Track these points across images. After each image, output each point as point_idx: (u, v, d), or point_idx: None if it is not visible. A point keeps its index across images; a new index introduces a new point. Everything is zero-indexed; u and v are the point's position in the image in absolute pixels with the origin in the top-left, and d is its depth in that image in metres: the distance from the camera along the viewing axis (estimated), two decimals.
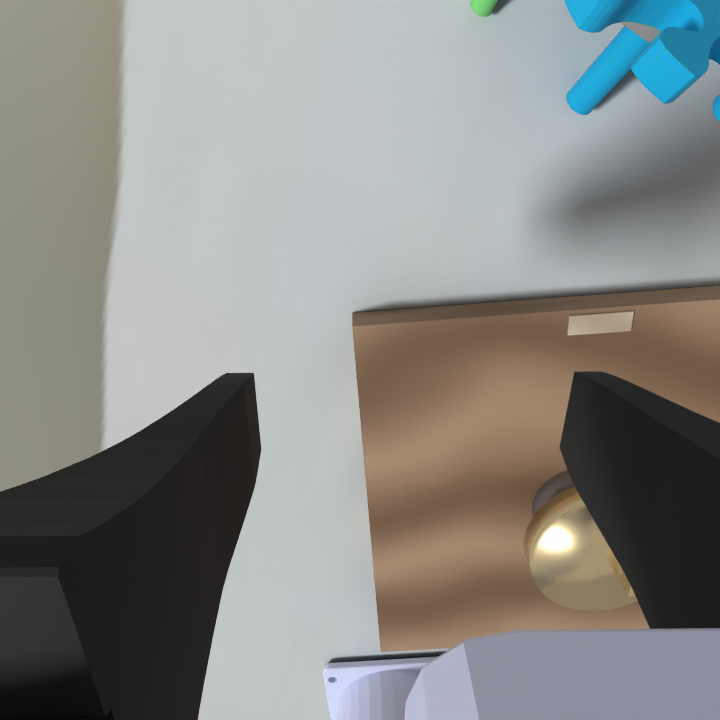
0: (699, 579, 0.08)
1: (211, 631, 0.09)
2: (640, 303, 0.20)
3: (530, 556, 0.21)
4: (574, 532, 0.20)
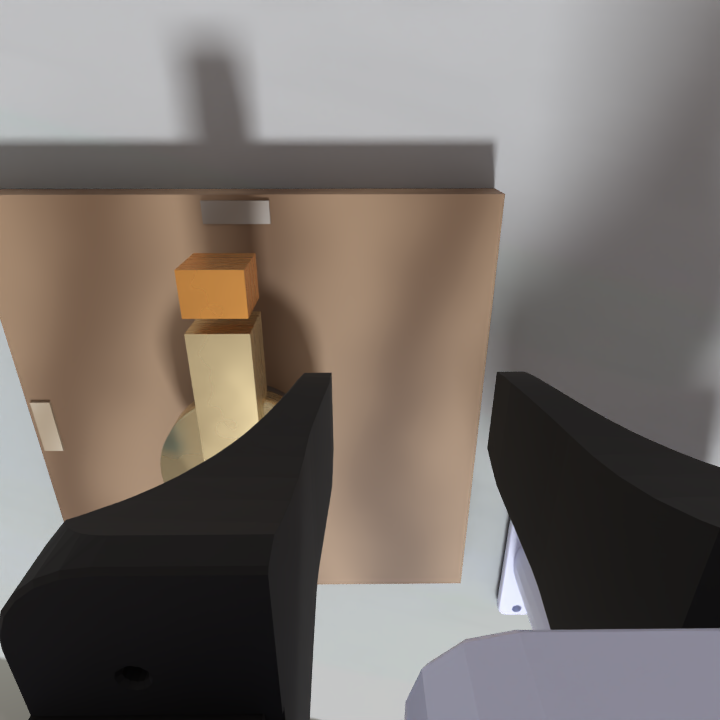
0: (583, 580, 0.08)
1: (313, 630, 0.09)
2: (26, 391, 0.22)
3: None
4: None
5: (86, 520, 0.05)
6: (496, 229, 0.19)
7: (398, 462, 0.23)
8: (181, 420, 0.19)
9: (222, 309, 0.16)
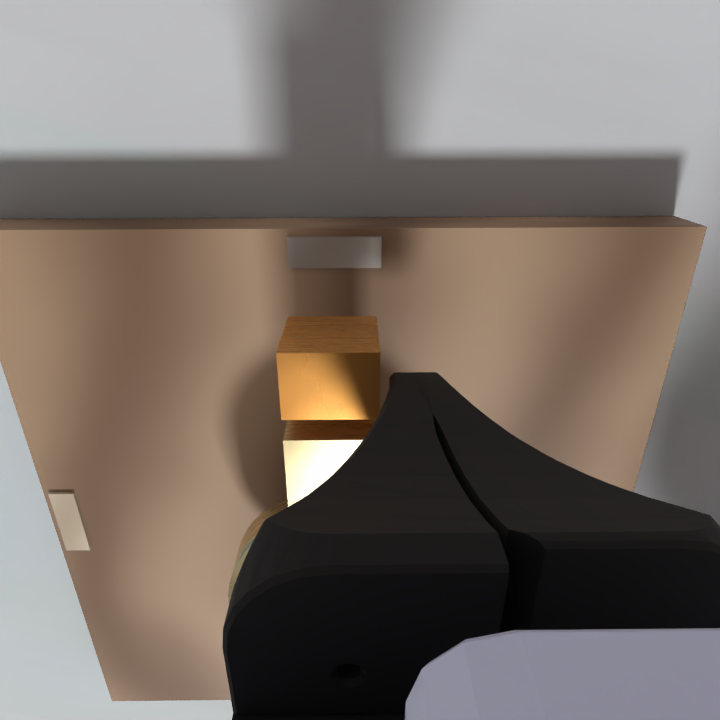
0: None
1: None
2: (43, 478, 0.17)
3: None
4: None
5: (289, 518, 0.05)
6: (687, 273, 0.14)
7: None
8: None
9: (342, 407, 0.11)
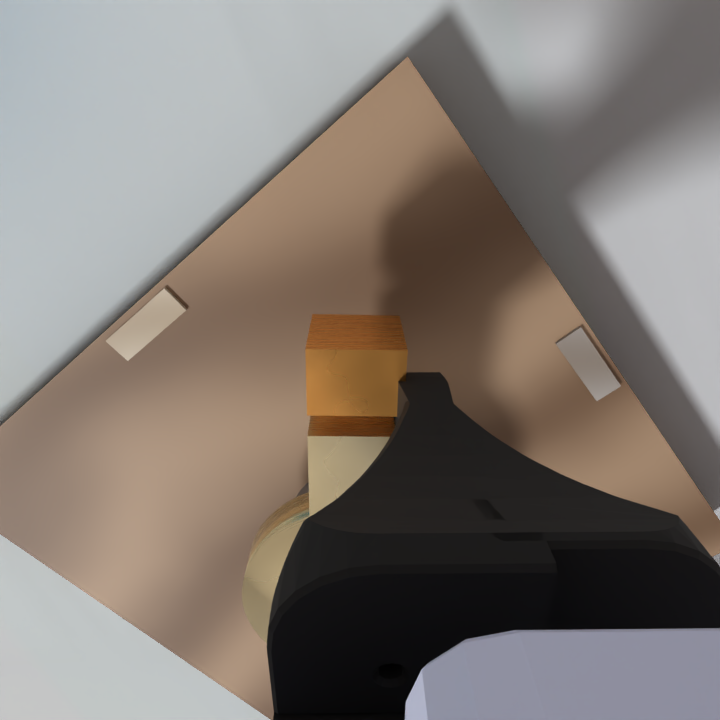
0: None
1: None
2: None
3: None
4: None
5: (329, 518, 0.05)
6: None
7: None
8: (277, 535, 0.14)
9: (368, 403, 0.11)
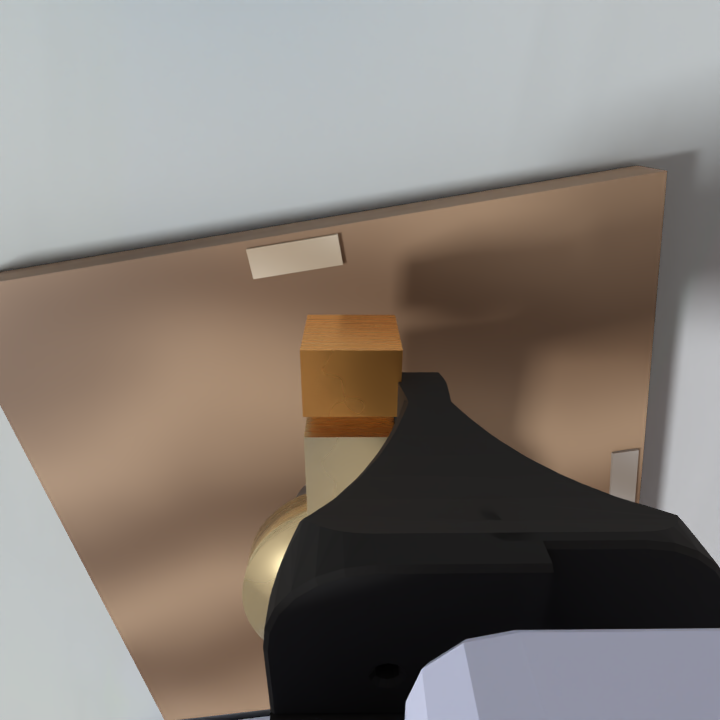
0: None
1: None
2: (350, 221, 0.14)
3: None
4: None
5: (326, 518, 0.05)
6: None
7: None
8: (276, 536, 0.14)
9: (364, 404, 0.11)
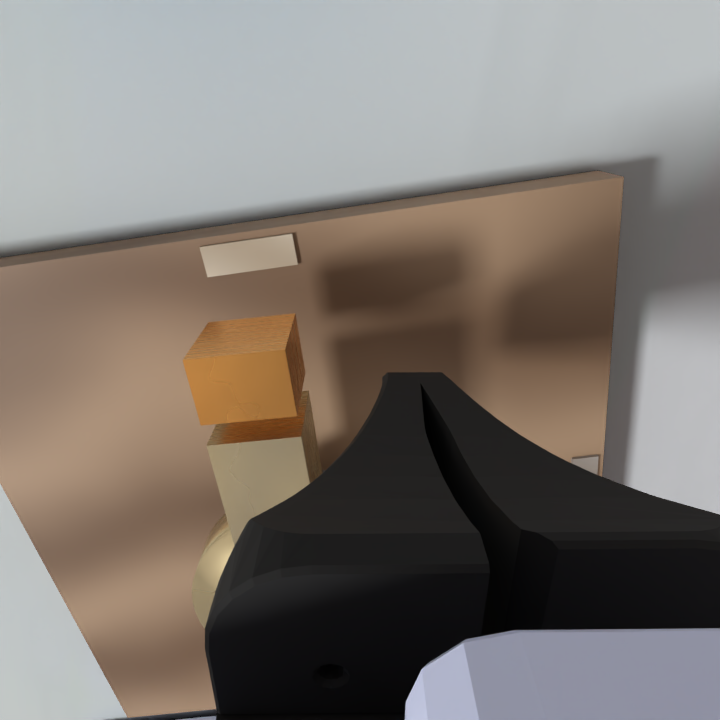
0: None
1: None
2: (306, 221, 0.13)
3: None
4: None
5: (272, 518, 0.05)
6: None
7: None
8: (214, 544, 0.14)
9: (258, 407, 0.11)
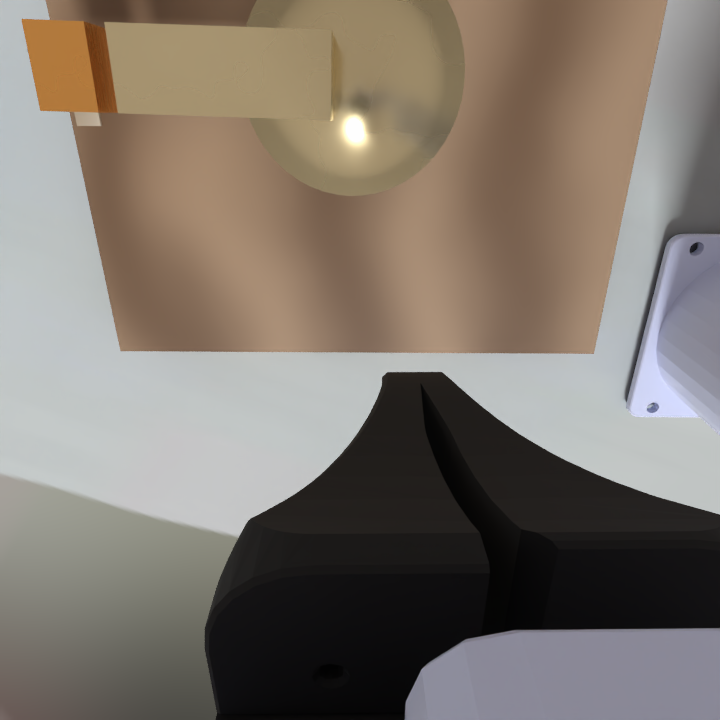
0: None
1: None
2: None
3: None
4: (403, 143, 0.15)
5: (272, 518, 0.05)
6: None
7: (535, 152, 0.18)
8: (271, 154, 0.15)
9: (77, 56, 0.13)
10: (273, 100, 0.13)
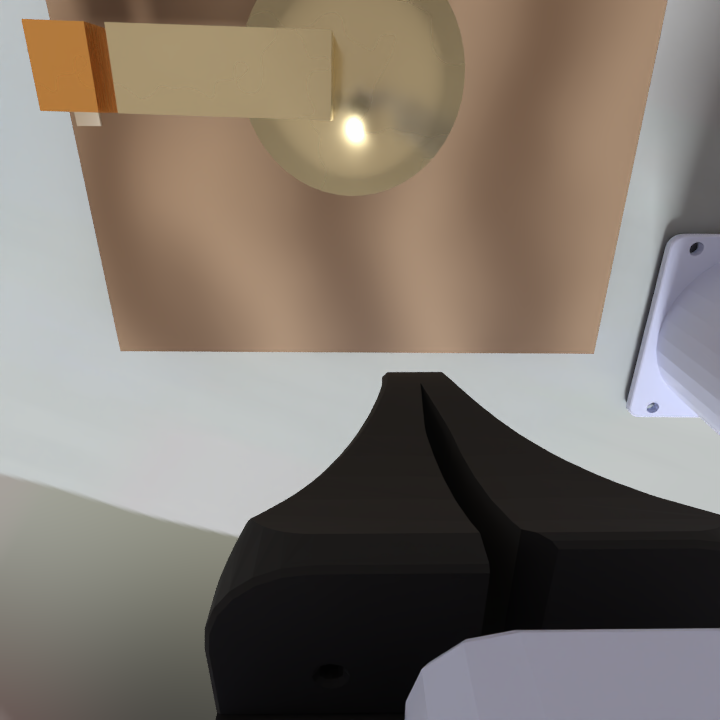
0: None
1: None
2: None
3: None
4: (403, 143, 0.15)
5: (272, 518, 0.05)
6: None
7: (535, 152, 0.18)
8: (271, 154, 0.15)
9: (77, 56, 0.13)
10: (273, 100, 0.13)
